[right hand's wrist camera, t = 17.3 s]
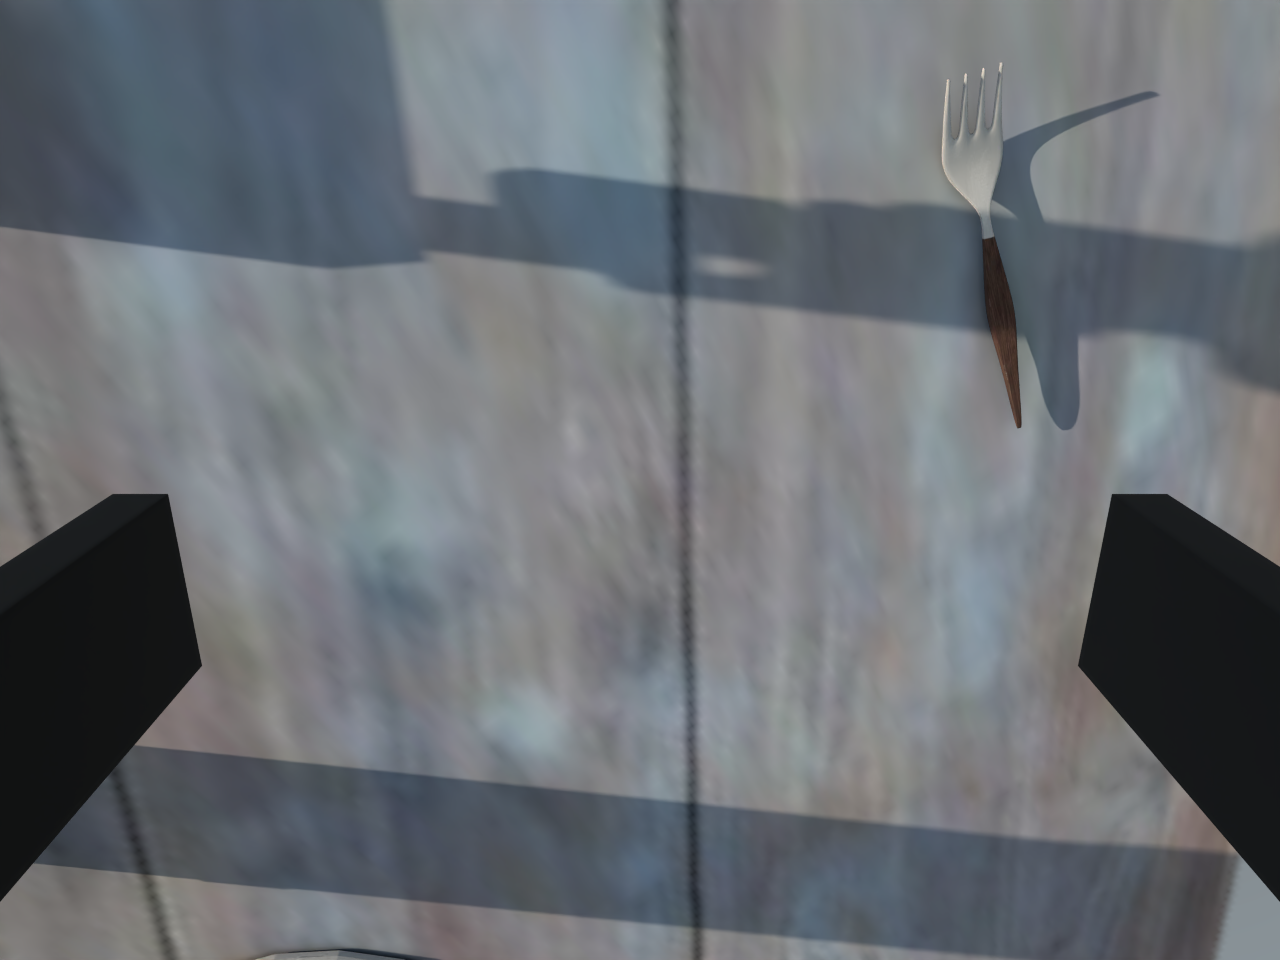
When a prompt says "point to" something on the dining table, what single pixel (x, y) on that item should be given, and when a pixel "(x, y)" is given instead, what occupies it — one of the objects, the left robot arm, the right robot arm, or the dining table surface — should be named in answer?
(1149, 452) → the dining table surface
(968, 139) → the fork
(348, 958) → the wall clock
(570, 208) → the dining table surface
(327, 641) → the dining table surface
